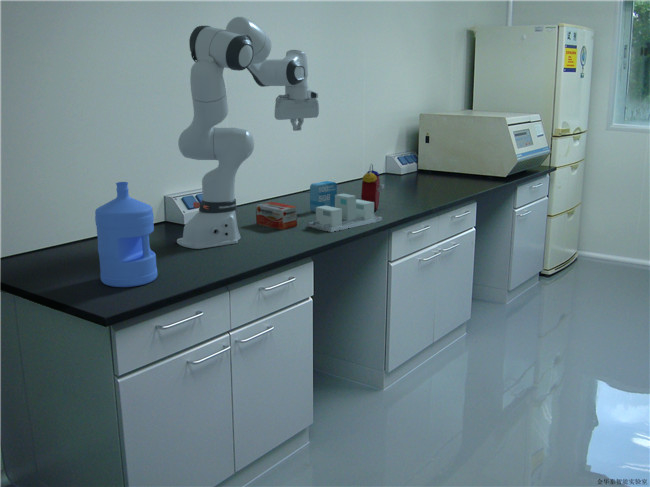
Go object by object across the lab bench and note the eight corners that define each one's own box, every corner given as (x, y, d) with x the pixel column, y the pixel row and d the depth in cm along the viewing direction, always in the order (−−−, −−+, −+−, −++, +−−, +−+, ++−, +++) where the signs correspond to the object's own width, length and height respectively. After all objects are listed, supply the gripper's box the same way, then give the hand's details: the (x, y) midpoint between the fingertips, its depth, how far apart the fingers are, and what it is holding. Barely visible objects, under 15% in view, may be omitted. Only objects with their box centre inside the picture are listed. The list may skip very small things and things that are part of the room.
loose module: (347, 220, 253) (347, 197, 250) (334, 217, 258) (334, 194, 255) (355, 218, 256) (356, 195, 253) (343, 215, 261) (343, 193, 258)
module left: (332, 226, 246) (332, 210, 244) (315, 222, 252) (315, 207, 251) (341, 224, 249) (342, 208, 248) (325, 220, 256) (325, 205, 254)
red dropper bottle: (365, 206, 290) (366, 160, 285) (385, 207, 288) (386, 161, 283) (360, 213, 276) (361, 165, 271) (381, 214, 274) (382, 166, 269)
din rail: (331, 232, 243) (331, 226, 243) (307, 226, 252) (307, 221, 252) (381, 220, 262) (381, 215, 261) (358, 215, 271) (358, 210, 271)
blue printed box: (317, 213, 276) (317, 185, 273) (309, 211, 279) (309, 183, 276) (337, 209, 284) (337, 181, 281) (329, 207, 287) (329, 180, 284)
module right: (365, 219, 258) (365, 204, 256) (348, 215, 264) (348, 200, 263) (374, 217, 261) (374, 202, 260) (357, 213, 268) (357, 199, 266)
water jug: (89, 284, 185) (79, 185, 177) (124, 269, 199) (116, 177, 192) (135, 291, 179) (127, 189, 172) (168, 274, 193) (162, 180, 186)
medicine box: (255, 224, 257) (255, 204, 255) (271, 220, 263) (270, 201, 261) (282, 230, 247) (282, 209, 245) (297, 226, 253) (297, 206, 251)
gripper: (281, 95, 245) (281, 132, 248) (321, 93, 259) (321, 129, 262) (270, 94, 249) (271, 131, 253) (310, 93, 263) (310, 128, 266)
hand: (297, 130), depth 258 cm, fingers closed
